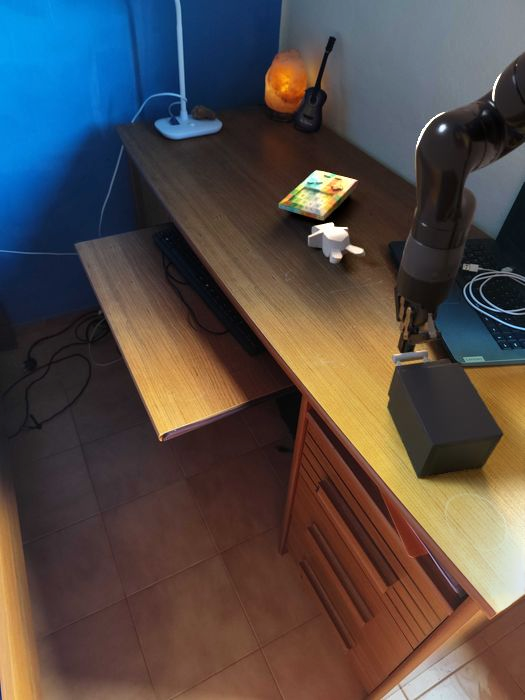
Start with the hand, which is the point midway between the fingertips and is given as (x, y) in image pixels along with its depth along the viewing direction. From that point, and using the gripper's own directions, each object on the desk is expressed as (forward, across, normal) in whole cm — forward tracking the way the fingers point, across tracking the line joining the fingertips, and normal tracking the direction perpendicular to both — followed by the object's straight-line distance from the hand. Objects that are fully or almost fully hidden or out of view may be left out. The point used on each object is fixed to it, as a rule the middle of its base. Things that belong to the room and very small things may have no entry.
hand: (404, 350), depth 76 cm
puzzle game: (+4, +55, 0) cm, 56 cm away
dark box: (+4, -14, 0) cm, 14 cm away
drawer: (+3, -9, 0) cm, 10 cm away
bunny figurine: (+4, +35, +2) cm, 36 cm away
